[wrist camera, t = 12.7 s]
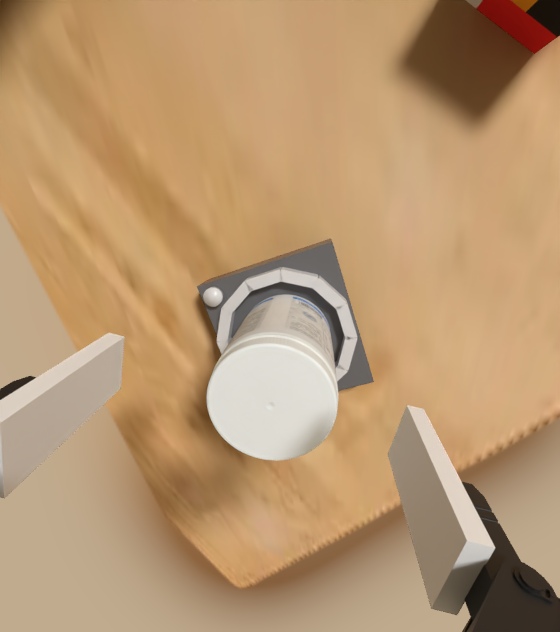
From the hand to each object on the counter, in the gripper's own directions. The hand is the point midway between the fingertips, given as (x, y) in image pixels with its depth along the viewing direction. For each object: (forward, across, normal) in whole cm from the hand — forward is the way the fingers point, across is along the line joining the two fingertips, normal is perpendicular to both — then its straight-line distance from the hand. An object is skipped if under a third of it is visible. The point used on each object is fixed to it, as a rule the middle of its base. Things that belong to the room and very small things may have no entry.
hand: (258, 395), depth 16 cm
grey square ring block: (+26, +1, -5) cm, 26 cm away
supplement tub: (+22, +1, -5) cm, 23 cm away
